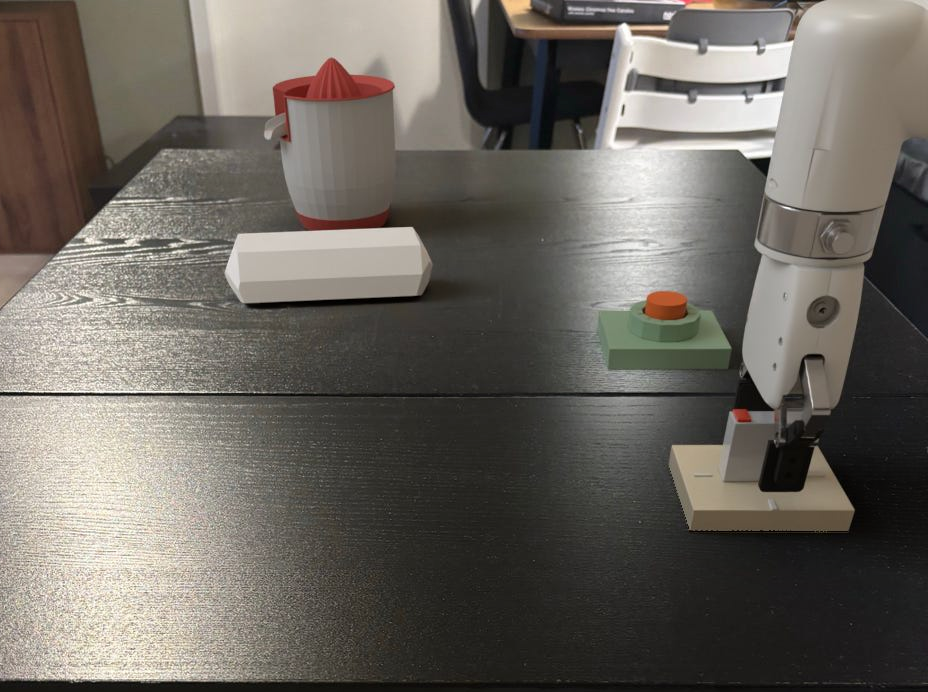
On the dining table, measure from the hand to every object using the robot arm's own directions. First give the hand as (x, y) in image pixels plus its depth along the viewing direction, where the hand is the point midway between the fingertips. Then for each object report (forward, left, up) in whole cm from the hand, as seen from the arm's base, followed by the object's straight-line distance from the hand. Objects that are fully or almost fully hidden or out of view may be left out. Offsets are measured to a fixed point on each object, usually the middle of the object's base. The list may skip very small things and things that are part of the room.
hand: (763, 457), depth 73 cm
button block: (+3, -29, -4) cm, 29 cm away
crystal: (+39, -45, -4) cm, 60 cm away
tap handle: (0, 0, -2) cm, 2 cm away
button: (+3, -29, 0) cm, 29 cm away
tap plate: (0, 0, -4) cm, 4 cm away
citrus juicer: (+41, -71, -4) cm, 82 cm away
